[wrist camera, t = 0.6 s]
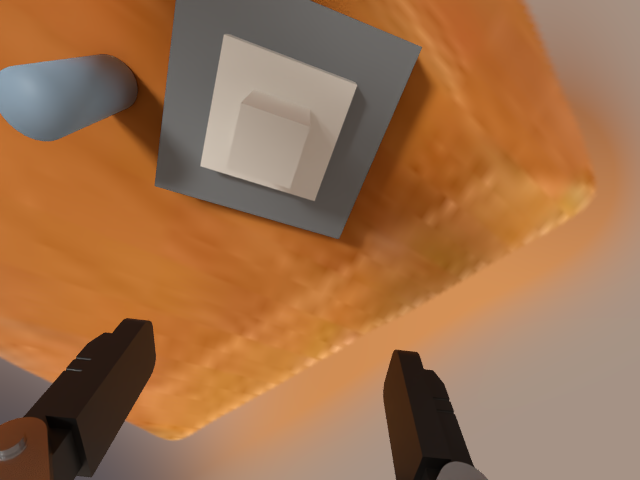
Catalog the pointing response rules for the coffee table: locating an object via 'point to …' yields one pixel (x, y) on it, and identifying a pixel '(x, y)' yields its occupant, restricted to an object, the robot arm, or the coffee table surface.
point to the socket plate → (303, 45)
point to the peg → (64, 94)
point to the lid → (274, 118)
